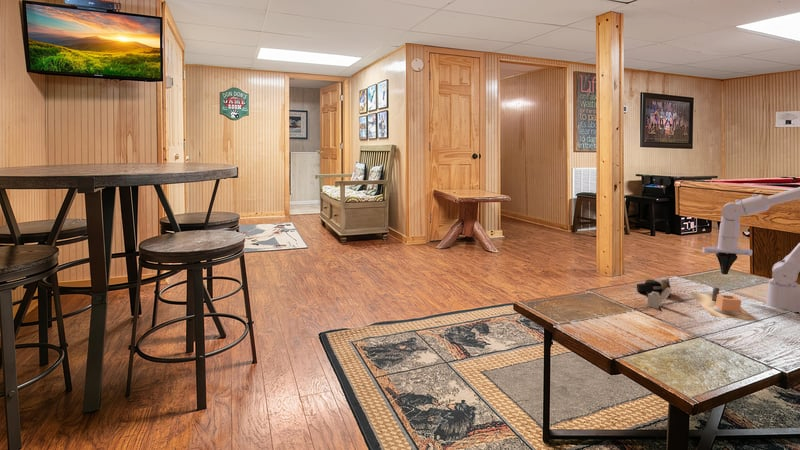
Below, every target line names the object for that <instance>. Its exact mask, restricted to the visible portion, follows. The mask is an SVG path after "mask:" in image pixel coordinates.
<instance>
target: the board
mask: <svg viewBox="0 0 800 450" xmlns="http://www.w3.org/2000/svg"><path fill="white" fill-rule="evenodd" d="M717 294H720V287H717V286H716V287H713V288H712V293H711V294H707V293H692V292H689V295H690V296H691V297H693V299H695V301H697V303H699V304H700V305H701V306H702V307H703V309H705V311H707V312H708V314H710V315H711V316H712V317H718V318H719V317H720V318H729V319H730V318H731V319H742V320H743V319H744V320H752V321H753V320H754V321H757V320H758V319H757V318H755V316H753V315H752V314H750V313H749V312H748V311H747V310H746V309H744V308H743V307H742V306H740V312H730V311H721V310H720V309H719V308H718V307H717V306H716V299H717ZM726 298H728V299H732V298H729V297H726Z"/></svg>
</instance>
